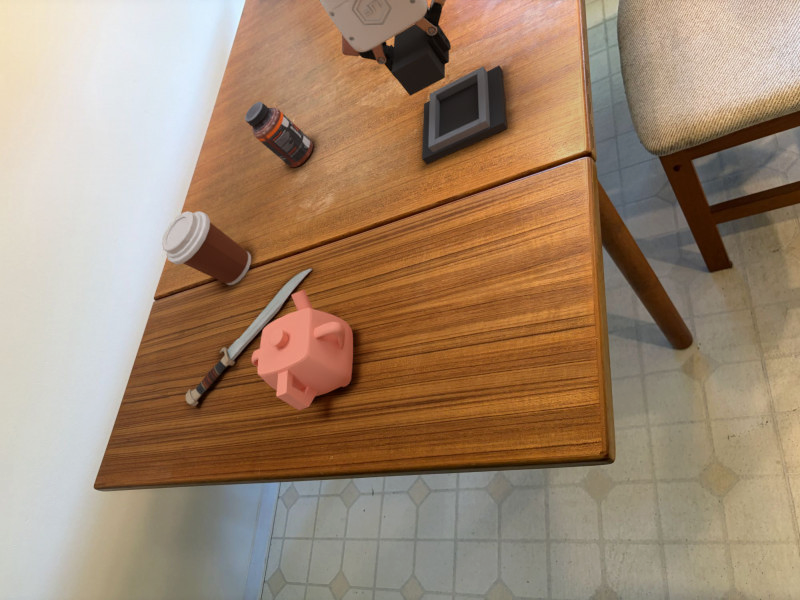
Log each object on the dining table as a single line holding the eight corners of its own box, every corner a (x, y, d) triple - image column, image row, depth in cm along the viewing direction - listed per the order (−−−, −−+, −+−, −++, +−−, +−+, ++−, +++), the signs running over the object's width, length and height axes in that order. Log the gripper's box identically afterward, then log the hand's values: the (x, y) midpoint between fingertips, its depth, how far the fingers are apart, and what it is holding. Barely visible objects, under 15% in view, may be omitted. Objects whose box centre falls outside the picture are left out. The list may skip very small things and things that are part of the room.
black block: (445, 40, 70) (428, 15, 67) (445, 77, 66) (427, 52, 64) (411, 59, 72) (394, 35, 70) (410, 96, 69) (391, 73, 66)
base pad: (503, 71, 76) (495, 58, 74) (507, 128, 70) (499, 116, 68) (428, 109, 82) (419, 97, 80) (426, 164, 76) (417, 153, 75)
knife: (301, 255, 82) (311, 269, 78) (309, 261, 83) (318, 275, 79) (182, 386, 84) (185, 406, 80) (191, 391, 85) (194, 411, 81)
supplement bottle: (320, 140, 96) (272, 94, 88) (304, 169, 95) (254, 125, 87) (299, 140, 100) (252, 97, 92) (284, 168, 99) (234, 126, 91)
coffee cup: (216, 266, 97) (156, 230, 89) (253, 234, 95) (195, 194, 86) (220, 302, 91) (156, 268, 83) (260, 270, 88) (198, 230, 80)
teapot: (334, 308, 74) (282, 274, 67) (383, 350, 65) (329, 316, 59) (282, 378, 74) (224, 351, 67) (324, 430, 65) (263, 404, 58)
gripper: (266, 2, 59) (370, 116, 72) (400, -96, 50) (490, 54, 63) (277, -38, 63) (373, 77, 75) (403, -136, 54) (487, 13, 67)
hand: (426, 65), depth 69 cm, fingers closed on black block, 5 cm apart
